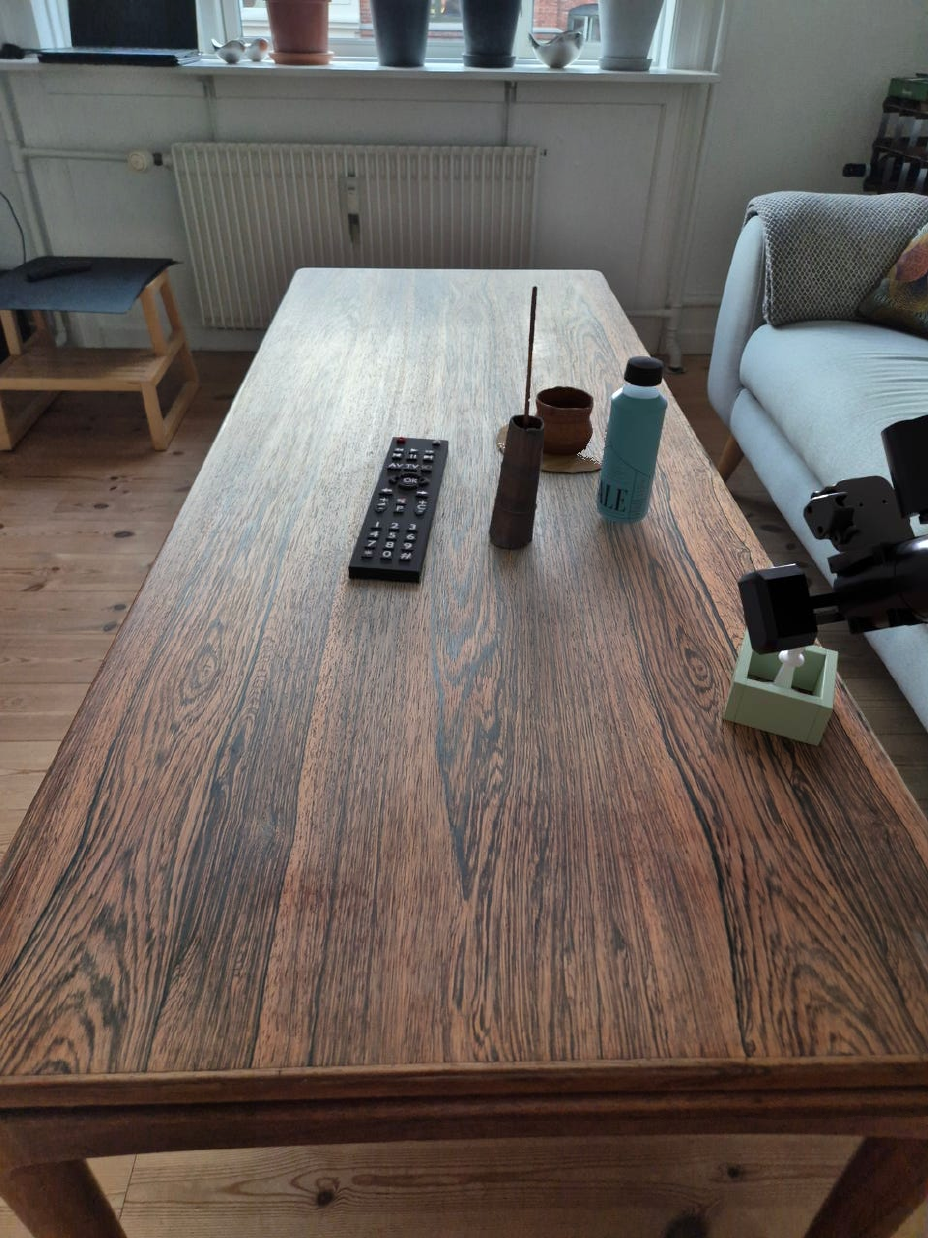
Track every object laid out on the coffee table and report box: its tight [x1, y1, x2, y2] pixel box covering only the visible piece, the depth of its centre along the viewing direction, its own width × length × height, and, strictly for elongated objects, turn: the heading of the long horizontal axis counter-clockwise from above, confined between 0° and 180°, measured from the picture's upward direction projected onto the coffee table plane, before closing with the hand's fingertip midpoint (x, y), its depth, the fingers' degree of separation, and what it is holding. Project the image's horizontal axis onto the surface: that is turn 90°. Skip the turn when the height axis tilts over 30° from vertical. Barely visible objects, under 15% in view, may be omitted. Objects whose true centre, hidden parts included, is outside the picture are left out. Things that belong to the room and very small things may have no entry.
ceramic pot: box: [495, 385, 603, 474], centre depth 116 cm, size 18×18×7 cm
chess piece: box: [762, 647, 806, 691], centre depth 74 cm, size 5×5×10 cm
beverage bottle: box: [595, 355, 669, 524], centre depth 96 cm, size 6×7×20 cm
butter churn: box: [488, 285, 545, 550], centre depth 89 cm, size 9×10×28 cm
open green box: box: [722, 628, 839, 747], centre depth 76 cm, size 8×8×4 cm
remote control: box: [347, 436, 449, 584], centre depth 102 cm, size 8×32×2 cm, turn 175°
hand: (793, 611), depth 72 cm, fingers open, 9 cm apart
